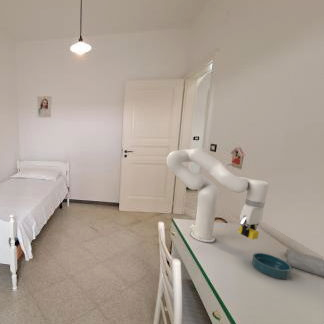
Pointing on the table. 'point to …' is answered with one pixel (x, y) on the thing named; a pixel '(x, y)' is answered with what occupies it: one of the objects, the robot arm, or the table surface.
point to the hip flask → (305, 262)
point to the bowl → (271, 265)
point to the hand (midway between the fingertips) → (247, 234)
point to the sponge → (250, 233)
